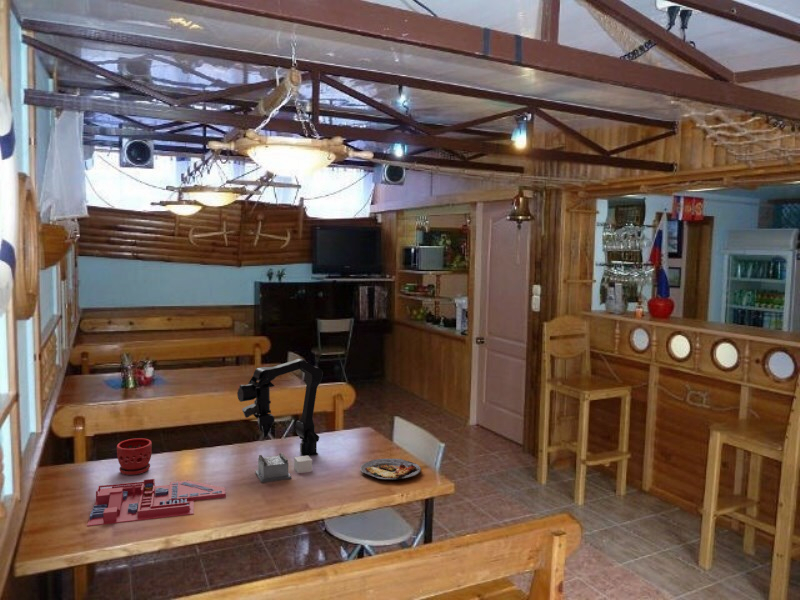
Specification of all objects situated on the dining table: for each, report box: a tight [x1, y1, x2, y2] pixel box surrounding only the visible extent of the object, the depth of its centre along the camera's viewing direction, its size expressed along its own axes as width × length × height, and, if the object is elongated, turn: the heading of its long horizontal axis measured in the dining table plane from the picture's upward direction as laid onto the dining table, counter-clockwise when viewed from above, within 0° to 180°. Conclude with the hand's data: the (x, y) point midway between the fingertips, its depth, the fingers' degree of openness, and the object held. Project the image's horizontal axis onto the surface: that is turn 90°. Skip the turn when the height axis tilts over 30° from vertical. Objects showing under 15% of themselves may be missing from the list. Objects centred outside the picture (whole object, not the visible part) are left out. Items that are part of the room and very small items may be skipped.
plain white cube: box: [293, 455, 313, 474], centre depth 256 cm, size 6×6×5 cm
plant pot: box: [116, 437, 153, 476], centre depth 250 cm, size 13×13×12 cm
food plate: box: [359, 458, 422, 481], centre depth 255 cm, size 25×23×4 cm
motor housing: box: [254, 452, 292, 484], centre depth 250 cm, size 12×14×8 cm
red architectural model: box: [86, 478, 227, 527], centre depth 222 cm, size 30×45×6 cm
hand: (263, 433), depth 262 cm, fingers open, 9 cm apart
